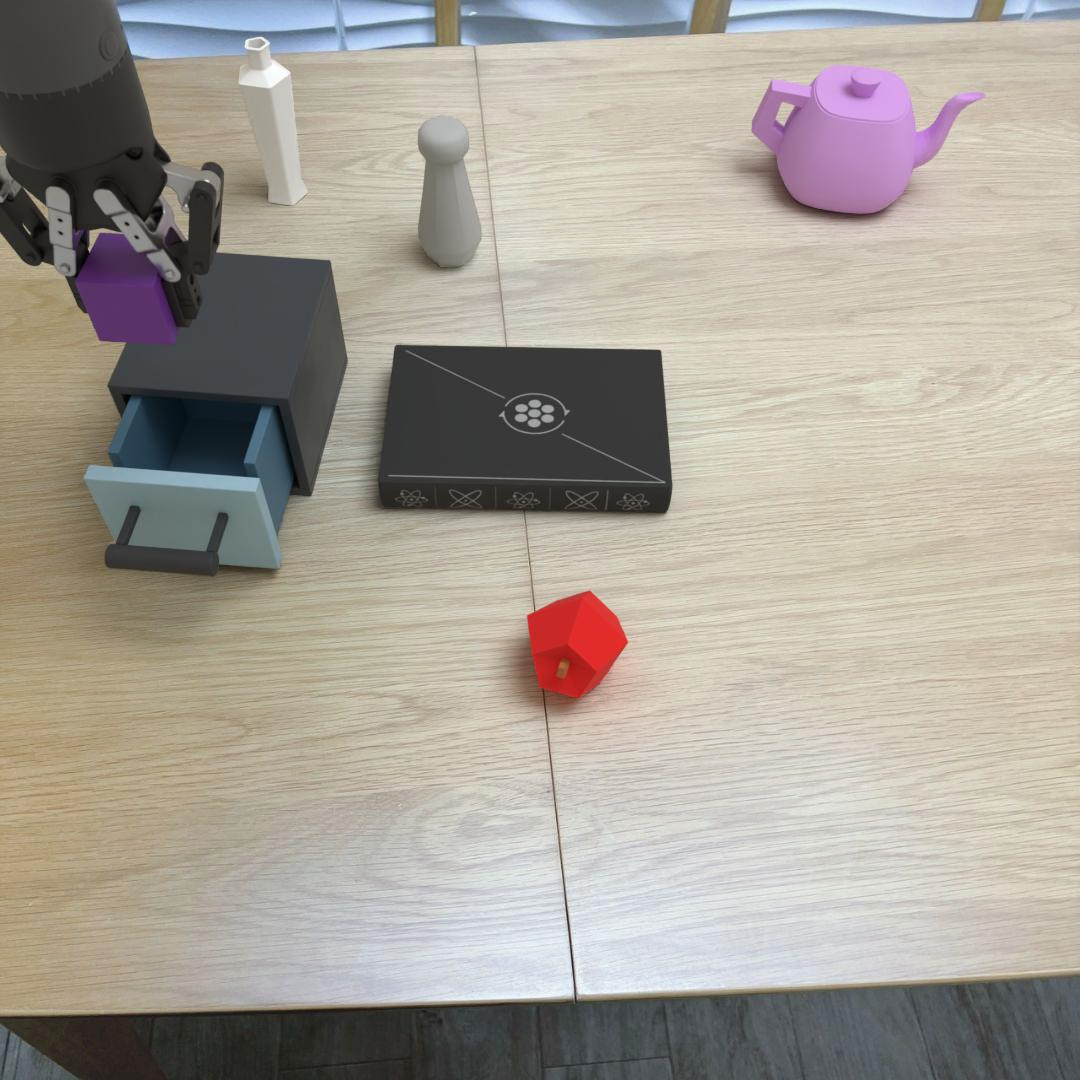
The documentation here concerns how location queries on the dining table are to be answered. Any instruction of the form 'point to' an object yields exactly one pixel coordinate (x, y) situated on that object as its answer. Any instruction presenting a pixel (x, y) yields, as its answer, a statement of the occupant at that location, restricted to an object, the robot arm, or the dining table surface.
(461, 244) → the salt shaker
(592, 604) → the apple
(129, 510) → the drawer
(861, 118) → the teapot
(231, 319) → the dark grey cabinet
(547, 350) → the book
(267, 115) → the white tall faceted bottle
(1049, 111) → the dining table surface
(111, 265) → the block
